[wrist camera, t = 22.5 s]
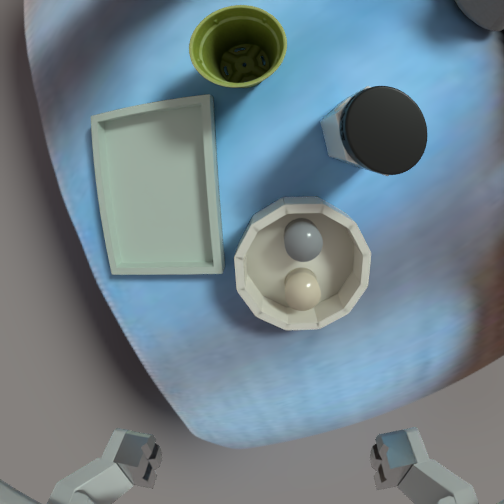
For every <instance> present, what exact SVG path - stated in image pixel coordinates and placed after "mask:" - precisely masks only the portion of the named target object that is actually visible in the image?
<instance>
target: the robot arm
mask: <svg viewBox="0 0 504 504" xmlns="http://www.w3.org/2000/svg"><path fill="white" fill-rule="evenodd" d="M375 440H376V444H375V445H373V447H372V449H371V454H370V460H371V466H372V468H373V469H375V470H376V471H377V472H376V474H375V475H374V480H375V484H376V489H377V490H380V489H385V488H391V487H396V486H398V488H399V489H400V490H401V491H402V492H403V493H404V494H405V495H406V496H407V497H408V498H409V499H410V500H411V501H412V502H413V503H414V504H479V502H478V499H477V497H476V494H475V491H474V488H473V486H472V485H470V484H469V483H467V482H466V481H464V480H463V479H461V478H460V477H458V476H457V475H455V474H454V473H452V472H451V471H449V470H448V469H447V468H445V467H444V466H442V465H441V464H439V463H438V462H436V461H435V460H434V459H431V460H430V459H429V457H428V455H427V451H426V449H425V446H424V443H423V441H422V438H421V436H420V433H419V431H418V429H417V428H416V427H415V428H414V427H413V428H409V429H404V430H399V431H394V432H390V433H384V434H379V435H378V436H377V437H376V439H375ZM155 442H156V438H155V437H154V435H151V434H145V433H139V432H134V431H130V430H125V429H120V428H116V429H115V430H114V431H113V434H112V436H111V438H110V440H109V442H108V444H107V446H106V448H105V451H104V453H103V455H102V457H101V458H97V459H95V460H94V461H92V462H90V463H89V464H87V465H85V466H84V467H82V468H81V469H79V470H77V471H76V472H74V473H72V474H71V475H69V476H67V477H66V478H64V479H62V480H60V481H59V482H57V484H56V486H55V488H54V490H53V492H52V494H51V496H50V498H49V500H48V502H47V504H112V503H114V502H115V501H116V500H117V499H118V498H119V497H121V496H122V495H123V494H124V493H125V492H127V491H128V490H129V489H130V488H131V487H132V486H133V485H138V486H143V487H147V488H152V489H153V487H154V484H155V480H156V477H157V475H156V472H155V470H156V469H157V468H159V467H160V464H161V460H162V452H161V448H160V446H159V445H157V444H156V443H155ZM0 504H41V503H40V502H37V501H36V500H34V499H32V498H30V497H29V496H27V495H25V494H23V493H22V492H20V491H18V490H16V489H15V488H13V487H12V486H10V485H8V484H7V483H6V482H4V481H3V480H1V479H0ZM497 504H504V500H502V501H501V502H499V503H497Z"/></svg>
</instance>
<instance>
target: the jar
mask: <svg viewBox="0 0 504 504" xmlns="http://www.w3.org/2000/svg"><path fill="white" fill-rule="evenodd" d="M320 123H321V127H322V130H323V135H324V139H325V143H326V147H327V151H328V156H329V157H331V158H334V159H337V160H340V161H343V162H345V163H348V164H351V165H354V166H356V167H359V168H362V169H365V170H369V171H372V172H375V173H379V174H382V175H385V176H389V175H396V174H400V173H403V172H406V171H408V170H409V169H411V168H412V167H413V166H415V165H416V164H417V163H418V161H419V160H420V159H421V157H422V155H423V153H424V151H425V148H426V143H427V127H426V122H425V119H424V116H423V114H422V112H421V110H420V108H419V107H418V105H417V104H416V103H415V102H414V101H413V100H412V99H411V98H410V97H409V96H408V95H407V94H405V93H404V92H402V91H400V90H398V89H395V88H392V87H388V86H375V87H369V86H367V87H365V88H363V89H362V90H360V91H358V92H356V93H355V94H353V95H351V96H349V97H348V98H346V99H345V100H343V101H342V102H341V103H340V104H338V105H337V106H336V107H335V108H334V109H333V110H332V111H331V112H330V113H328V114H327V115H326V116H325V117H324V118H323V119H322V120H321V121H320Z"/></svg>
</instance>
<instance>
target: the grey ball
mask: <svg viewBox="0 0 504 504" xmlns="http://www.w3.org/2000/svg"><path fill="white" fill-rule="evenodd" d="M284 244H285V249H286V252H287V254H288V255H289V256H290V257H291V258H292V259H294V260H296V261H299V262H307V261H311V260H313V259H314V258H316V257H317V256H318V255H319V253H320V252H321V250H322V246H323V240H322V236H321V234H320V233H319V231H318V229H317V227H316V225H315V224H314V223H313V222H312V221H310V220H309V219H306V218H297V219H294V220H292V221H291V222H289V223H288V224H287V226H286V227H285V230H284Z"/></svg>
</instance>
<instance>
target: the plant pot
mask: <svg viewBox="0 0 504 504" xmlns="http://www.w3.org/2000/svg"><path fill="white" fill-rule="evenodd" d="M238 48H245V50H240V51H237V52H234V51H235V50H236V49H238ZM286 49H287V39H286V35H285V32H284V29H283V27H282V26H281V24H280V23H279V22H278V20H277V19H276V18H275V17H274V16H272V15H271V14H269V13H268V12H266V11H264V10H262V9H260V8H257V7H253V6H247V5H235V6H229V7H225V8H222V9H219V10H217V11H215V12H213V13H211V14H210V15H208V16H207V17H206V18H204V19H203V20H202V21H201V22H200V23H199V25H198V26H197V27H196V28H195V30H194V32H193V34H192V36H191V39H190V44H189V54H190V58H191V61H192V63H193V65H194V67H195V69H196V70H197V71H198V72H199V73H200V74H201V75H202V76H203V77H204V78H206V79H207V80H209V81H210V82H212V83H215V84H217V85H220V86H224V87H232V88H238V87H240V88H248V87H252V86H255V85H257V84H259V83H260V82H262V81H263V80H265V79H266V78H268V77H269V76H270V75H272V74H273V73H274V72H275V71H276V70H277V69H278V67H279V66H280V65H281V63H282V61H283V59H284V57H285V54H286ZM261 56H263V57H264V60H265V61H266V65H263V62H262V59H261ZM243 63H246V66H245V67H244V66H243ZM225 66H226V67H227V71H228V74H229V75H226V73H225V71H224V67H225ZM254 79H255V80H254ZM251 80H252V81H251ZM245 81H249V82H245Z"/></svg>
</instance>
